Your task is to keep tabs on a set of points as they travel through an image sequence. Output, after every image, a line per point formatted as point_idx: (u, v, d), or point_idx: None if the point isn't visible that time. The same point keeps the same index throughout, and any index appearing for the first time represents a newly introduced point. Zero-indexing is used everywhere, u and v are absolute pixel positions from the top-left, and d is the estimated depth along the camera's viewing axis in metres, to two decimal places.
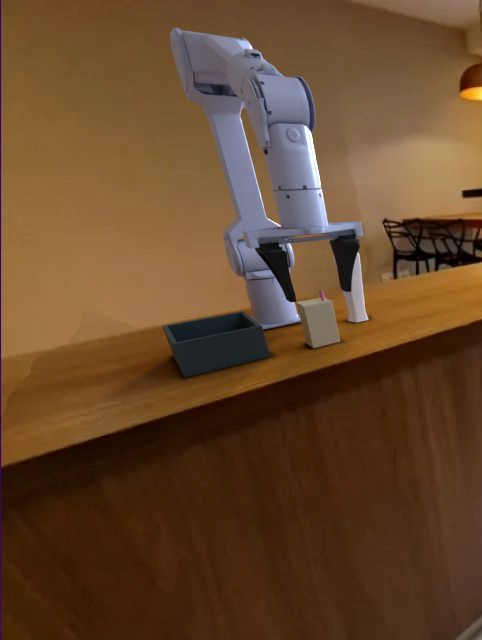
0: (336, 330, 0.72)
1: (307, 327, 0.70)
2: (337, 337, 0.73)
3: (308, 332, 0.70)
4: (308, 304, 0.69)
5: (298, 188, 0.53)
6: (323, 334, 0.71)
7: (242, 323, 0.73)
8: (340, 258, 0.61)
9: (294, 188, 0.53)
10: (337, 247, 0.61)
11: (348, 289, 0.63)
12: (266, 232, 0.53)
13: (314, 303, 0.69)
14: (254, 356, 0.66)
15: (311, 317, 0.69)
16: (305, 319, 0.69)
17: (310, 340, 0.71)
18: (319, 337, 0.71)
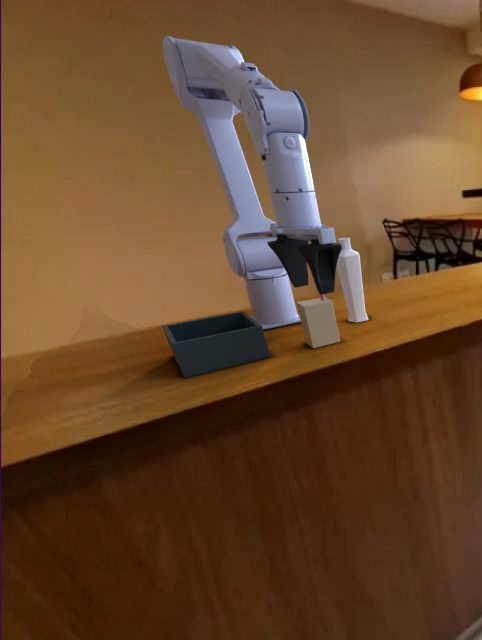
0: (336, 330, 0.72)
1: (307, 327, 0.70)
2: (337, 337, 0.73)
3: (308, 332, 0.70)
4: (308, 304, 0.69)
5: (269, 191, 0.59)
6: (323, 334, 0.71)
7: (242, 323, 0.73)
8: None
9: (269, 191, 0.59)
10: None
11: (318, 291, 0.64)
12: (274, 226, 0.65)
13: (314, 303, 0.69)
14: (254, 356, 0.66)
15: (311, 317, 0.69)
16: (305, 319, 0.69)
17: (310, 340, 0.71)
18: (319, 337, 0.71)
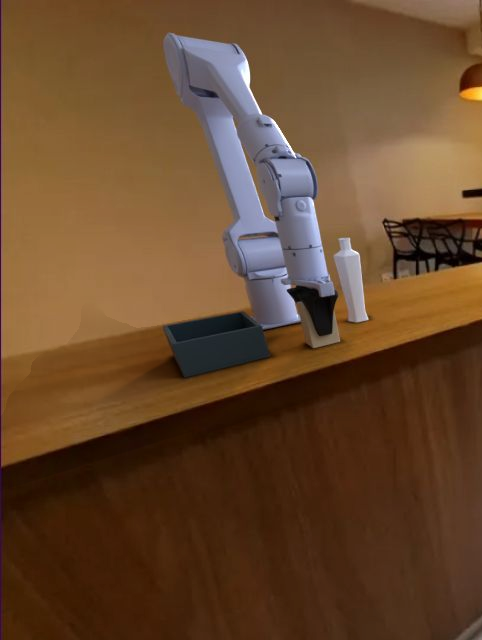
0: (336, 330, 0.72)
1: (307, 327, 0.70)
2: (337, 337, 0.73)
3: (308, 332, 0.70)
4: None
5: (281, 247, 0.65)
6: None
7: (242, 323, 0.73)
8: None
9: None
10: None
11: (317, 333, 0.70)
12: None
13: None
14: (254, 356, 0.66)
15: None
16: (305, 319, 0.69)
17: (310, 340, 0.71)
18: (319, 337, 0.71)
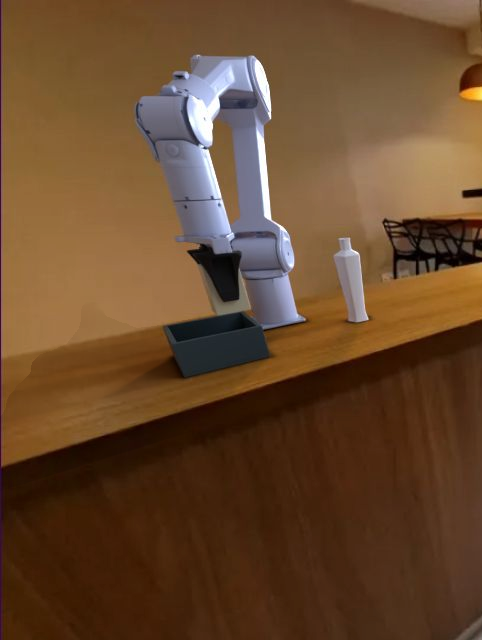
0: (245, 296, 0.66)
1: (209, 292, 0.63)
2: (247, 304, 0.66)
3: (210, 297, 0.63)
4: None
5: None
6: (229, 301, 0.64)
7: (242, 323, 0.73)
8: None
9: None
10: None
11: None
12: None
13: None
14: (254, 356, 0.66)
15: None
16: (206, 282, 0.62)
17: (214, 306, 0.64)
18: (224, 303, 0.64)
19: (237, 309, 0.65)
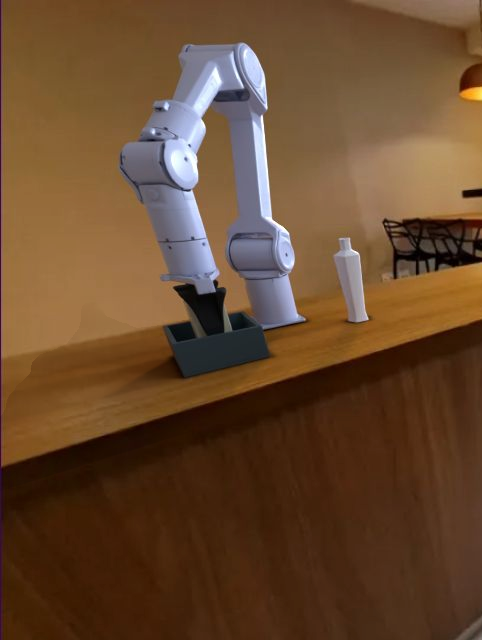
0: None
1: (194, 327, 0.64)
2: None
3: (196, 333, 0.64)
4: None
5: None
6: None
7: (242, 323, 0.73)
8: None
9: None
10: None
11: None
12: None
13: None
14: (254, 356, 0.66)
15: None
16: (191, 319, 0.63)
17: None
18: None
19: None
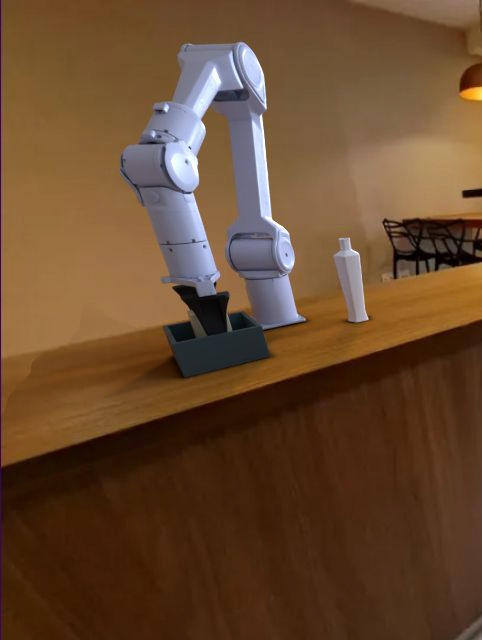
0: None
1: None
2: None
3: None
4: None
5: None
6: None
7: (242, 323, 0.73)
8: None
9: None
10: None
11: None
12: None
13: None
14: (254, 356, 0.66)
15: (201, 327, 0.64)
16: (194, 329, 0.64)
17: None
18: None
19: None
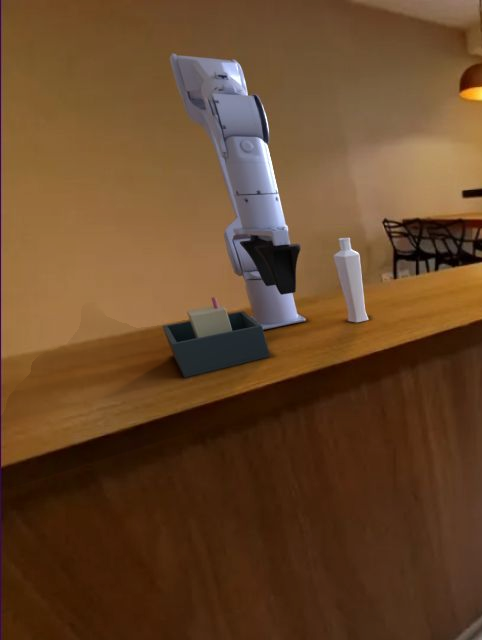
0: None
1: None
2: None
3: None
4: (197, 313, 0.64)
5: (233, 193, 0.61)
6: None
7: (242, 323, 0.73)
8: None
9: None
10: None
11: (279, 291, 0.65)
12: None
13: (204, 312, 0.64)
14: (254, 356, 0.66)
15: (201, 327, 0.64)
16: (194, 329, 0.64)
17: None
18: None
19: None
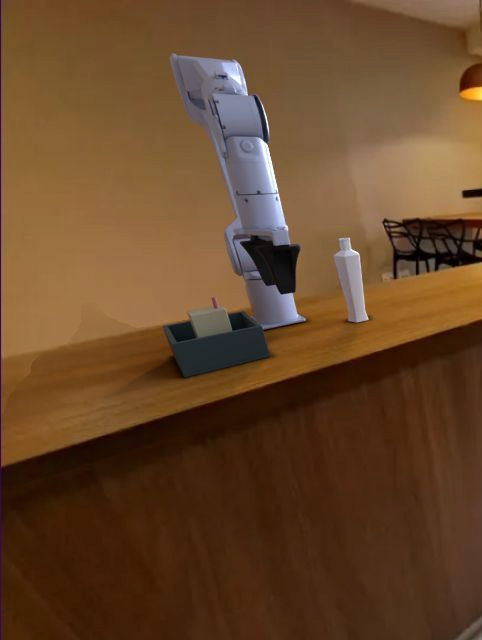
0: None
1: None
2: None
3: None
4: (197, 313, 0.64)
5: (233, 193, 0.61)
6: None
7: (242, 323, 0.73)
8: None
9: None
10: None
11: (279, 291, 0.65)
12: None
13: (204, 312, 0.64)
14: (254, 356, 0.66)
15: (201, 327, 0.64)
16: (194, 329, 0.64)
17: None
18: None
19: None
